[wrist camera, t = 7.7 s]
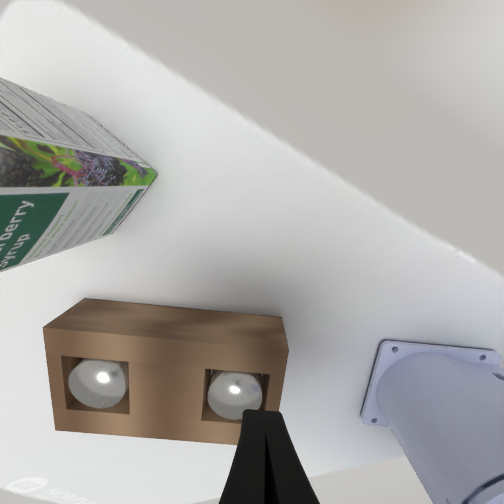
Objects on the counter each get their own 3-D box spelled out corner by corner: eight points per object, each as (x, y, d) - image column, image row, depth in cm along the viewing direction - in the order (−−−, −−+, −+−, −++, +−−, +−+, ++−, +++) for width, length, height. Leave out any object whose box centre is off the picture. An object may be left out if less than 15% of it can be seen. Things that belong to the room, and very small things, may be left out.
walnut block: (281, 317, 20) (288, 350, 16) (268, 400, 22) (272, 447, 18) (84, 298, 19) (42, 327, 15) (90, 385, 21) (55, 430, 18)
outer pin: (147, 331, 20) (123, 365, 16) (147, 370, 21) (125, 410, 17) (100, 326, 20) (65, 360, 16) (102, 366, 21) (70, 405, 17)
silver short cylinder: (262, 342, 20) (265, 377, 16) (257, 379, 21) (259, 421, 17) (217, 337, 20) (209, 372, 16) (213, 376, 21) (205, 417, 17)
